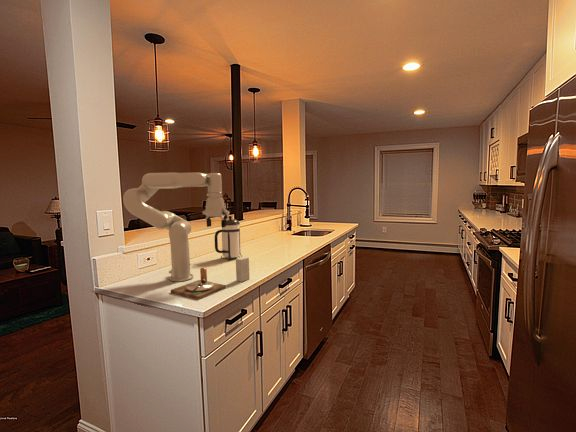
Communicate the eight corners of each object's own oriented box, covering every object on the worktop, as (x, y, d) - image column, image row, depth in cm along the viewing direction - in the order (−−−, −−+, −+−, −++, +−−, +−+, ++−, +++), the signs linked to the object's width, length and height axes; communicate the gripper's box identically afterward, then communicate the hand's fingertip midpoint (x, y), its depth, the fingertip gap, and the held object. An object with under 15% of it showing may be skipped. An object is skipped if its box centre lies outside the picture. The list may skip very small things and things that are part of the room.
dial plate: (170, 292, 150) (170, 289, 150) (198, 282, 166) (198, 279, 166) (199, 299, 141) (198, 296, 141) (226, 288, 156) (226, 284, 156)
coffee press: (223, 255, 231) (222, 214, 228) (244, 255, 228) (243, 214, 225) (215, 261, 213) (213, 217, 211) (237, 261, 211) (236, 217, 208)
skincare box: (244, 277, 173) (243, 256, 172) (249, 279, 171) (249, 257, 170) (236, 280, 169) (235, 258, 168) (241, 281, 166) (240, 259, 165)
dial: (192, 282, 160) (192, 267, 159) (217, 283, 158) (216, 267, 158) (179, 292, 145) (178, 275, 144) (207, 293, 144) (206, 276, 143)
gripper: (197, 196, 172) (199, 227, 173) (224, 196, 165) (225, 228, 167) (206, 195, 179) (207, 225, 180) (232, 195, 172) (233, 226, 174)
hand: (216, 226), depth 173 cm, fingers open, 9 cm apart
